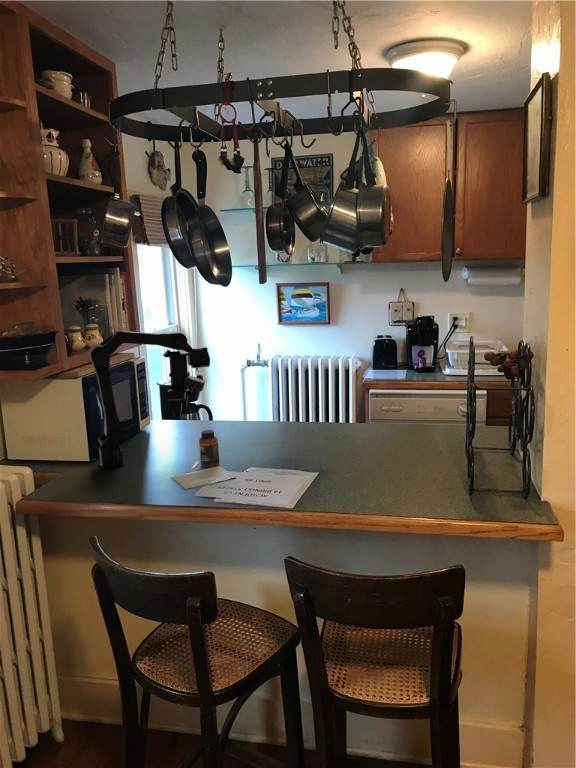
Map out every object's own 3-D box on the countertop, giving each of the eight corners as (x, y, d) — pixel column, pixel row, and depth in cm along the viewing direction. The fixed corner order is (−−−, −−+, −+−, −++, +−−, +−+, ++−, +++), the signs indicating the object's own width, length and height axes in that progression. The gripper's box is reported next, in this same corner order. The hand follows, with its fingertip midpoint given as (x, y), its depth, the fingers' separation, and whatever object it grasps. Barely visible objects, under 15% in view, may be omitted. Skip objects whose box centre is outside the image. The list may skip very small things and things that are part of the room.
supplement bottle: (221, 462, 201) (219, 428, 199) (217, 468, 195) (215, 433, 193) (203, 462, 202) (200, 428, 199) (198, 468, 196) (196, 434, 194)
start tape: (190, 468, 196) (190, 468, 196) (196, 461, 203) (196, 461, 203) (193, 468, 196) (193, 468, 196) (199, 461, 202) (199, 461, 202)
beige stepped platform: (185, 489, 178) (185, 488, 178) (171, 478, 188) (171, 476, 188) (236, 478, 186) (235, 476, 186) (219, 467, 196) (219, 466, 196)
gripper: (198, 373, 197) (200, 421, 200) (207, 364, 215) (209, 408, 218) (163, 374, 197) (166, 422, 200) (175, 365, 215) (177, 408, 218)
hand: (181, 414), depth 209 cm, fingers open, 9 cm apart
